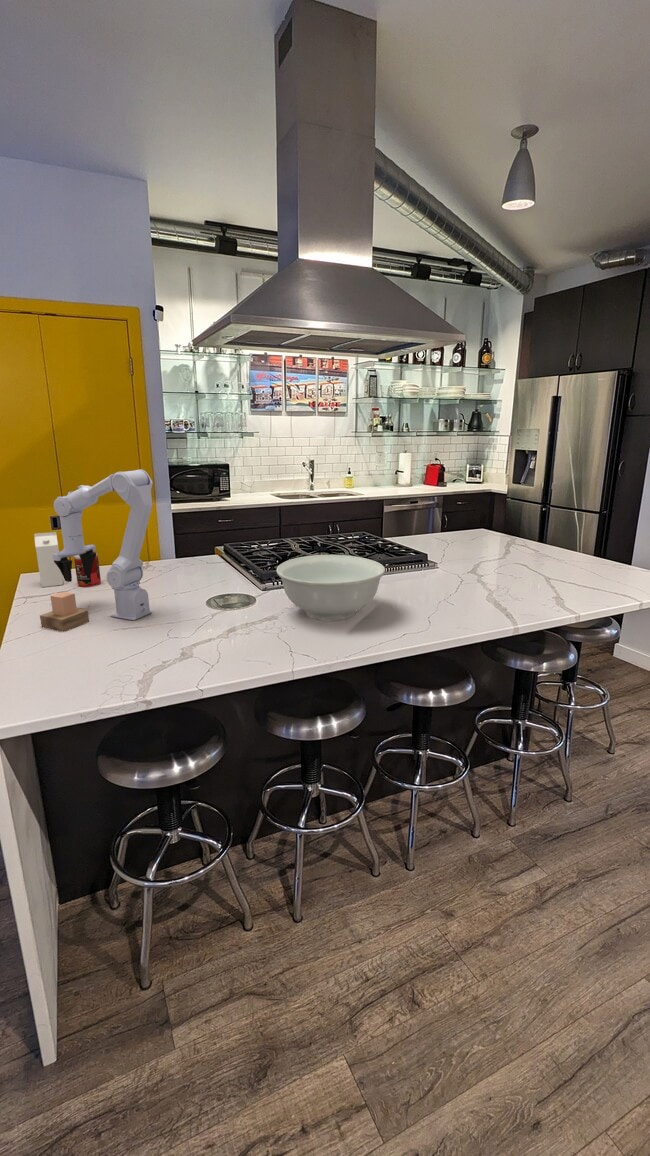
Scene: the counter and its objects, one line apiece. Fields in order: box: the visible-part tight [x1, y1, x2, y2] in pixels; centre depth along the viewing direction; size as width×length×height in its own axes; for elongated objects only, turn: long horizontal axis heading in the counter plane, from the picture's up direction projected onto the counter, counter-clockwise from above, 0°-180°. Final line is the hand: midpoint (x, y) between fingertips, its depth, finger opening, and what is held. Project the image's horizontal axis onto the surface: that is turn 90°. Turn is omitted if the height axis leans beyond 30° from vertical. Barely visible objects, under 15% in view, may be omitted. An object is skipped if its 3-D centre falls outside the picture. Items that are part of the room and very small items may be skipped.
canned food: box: [73, 552, 102, 588], centre depth 200 cm, size 8×8×11 cm
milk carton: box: [33, 531, 64, 588], centre depth 200 cm, size 7×7×19 cm
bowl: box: [276, 554, 386, 621], centre depth 167 cm, size 32×32×15 cm
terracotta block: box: [49, 591, 78, 616], centre depth 159 cm, size 4×4×6 cm
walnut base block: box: [39, 607, 90, 633], centre depth 160 cm, size 9×9×4 cm
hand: (78, 578), depth 172 cm, fingers open, 7 cm apart
